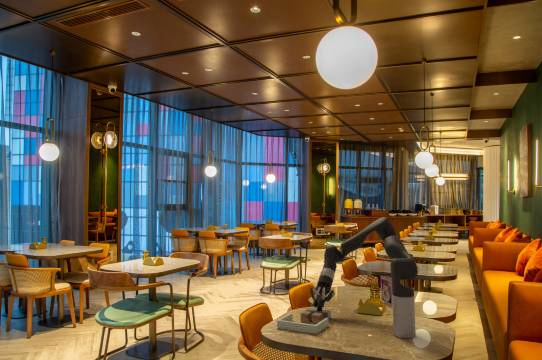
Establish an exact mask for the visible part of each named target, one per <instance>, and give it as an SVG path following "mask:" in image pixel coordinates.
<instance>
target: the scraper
mask: <svg viewBox="0 0 542 360" xmlns="http://www.w3.org/2000/svg"><path fill="white" fill-rule="evenodd" d="M315 295H316V300H317V306H316V308H314V307H312V308H311V307H309V308H306V309H305V311H307V312H311V314H314V313H322V314H323V319H325V318H328V319H330V318H331V317H332V311H331V310H328V309H323V307H322V308H320V303H321V300H322V293H316V292H315Z"/></svg>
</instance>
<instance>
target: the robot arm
mask: <svg viewBox="0 0 542 360" xmlns="http://www.w3.org/2000/svg"><path fill="white" fill-rule="evenodd" d="M373 232H375V233H376V234H377V235H378V237H379V238H380V240H381V241H382V242H383V249H384V252H385V253H386V255H387V257H389V258H390V259H391V260H390V275H391V276H390V277H391V278H392V298H393V307H392V325H393V326H392V327H393V331H392V332H393V333H392V334H393V336H395V337H397V338H398V339H399V338H401V339H414V338H415V337H416V310H415V309H416V308H415V304H416V303H415V290H414V288H412V287H410V286H407V285H404V284H403V283H401V281H403V280H405V281H406V280H409V281H410V280H414V279H416V278H417V277H418V272H419V269H418V265H417V263H416V261H415V258H413V256H411V254H410V253H409V251H407V249H406V247H405V245H404V243H403V241H402V240H401V238H400V237H398V234H397V230H396V229H395V227H394V225H393V224H392V223H391V220H390V219H389V218H388V217H387V216H382V217H379V218H378V219H376V220H375V221H373V222H371V223H370V224H369V225H367V226H366V227H365V228H363V229H362V230H361V231H359V232H358V233H357V234H355V235H353V236H352V237H349V238H347V239H346V240H344V241H343V242H341V243H340V247H341V249H340V250H339V248H338V247H337V246H336V245H334V244H329V245H328V246H327V247H326V248H325V250H324V254H323V257H324V258H323V262H324V263H323V266H322V270H321V271H320V274H319V277H318V280H317V283H316V286H315V288H313V287H310V289H309V290H310V295H311V298H312V300H313V302H312V306H313V309H317V300H316V293H322V300H321V303H320V308H322V309H323V308H325V305H326V302H328V303H329V302H330V301H331V300H332V299H333V297H334V296H335V294H336V293H335V291H334V290H332V285H333V283H334V280H335V274H336V270H337V267H338V266H337V264H338V263H340V262H342V261H343V260H344V259H345V258H346V257H347V256H348V255H349V254H351V253H353V252H354V251H357V250H359V249H360V248H361V247H362V246H363V244H364V243H365V241H366V240H367V238H368V236H369V235H370V234H371V233H373Z"/></svg>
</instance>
